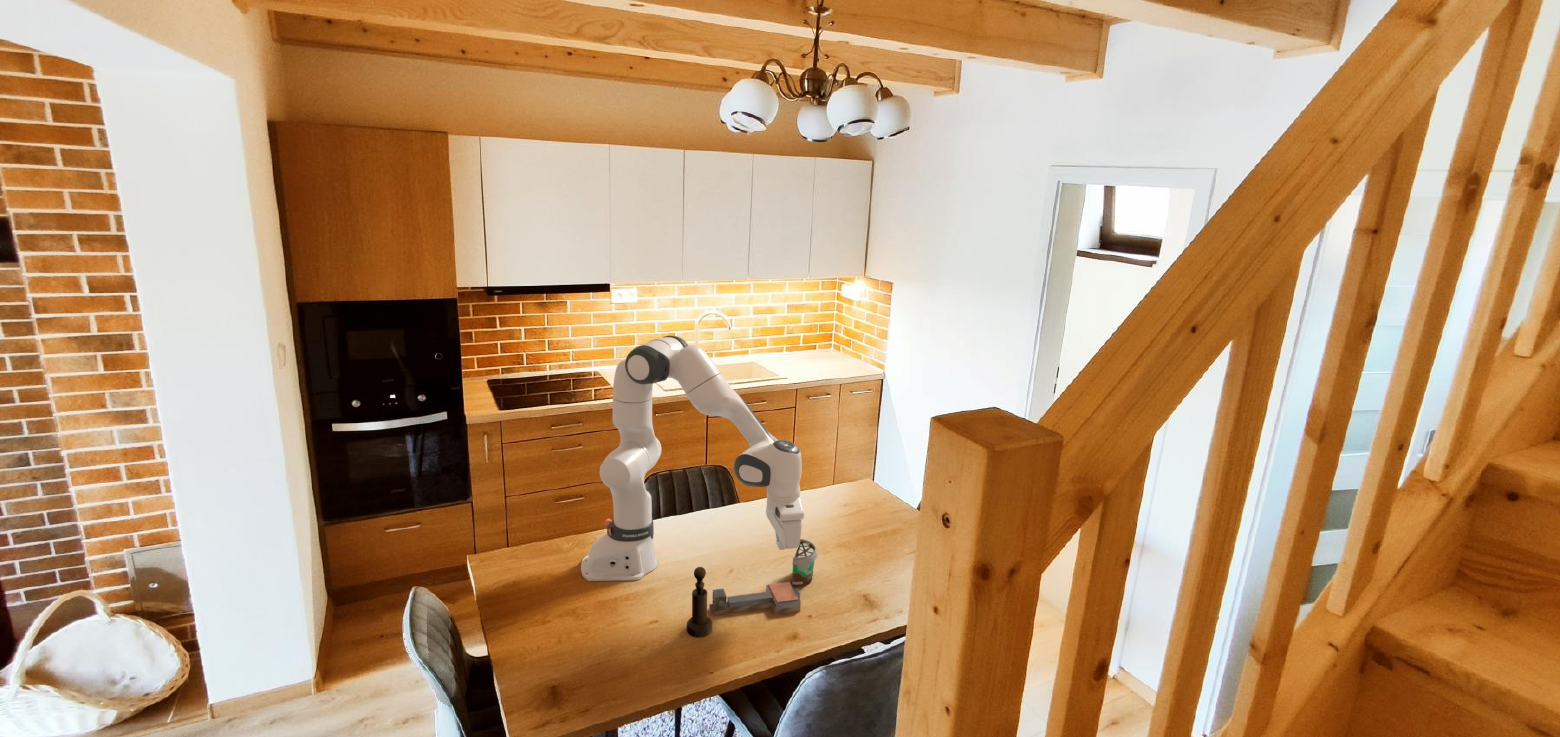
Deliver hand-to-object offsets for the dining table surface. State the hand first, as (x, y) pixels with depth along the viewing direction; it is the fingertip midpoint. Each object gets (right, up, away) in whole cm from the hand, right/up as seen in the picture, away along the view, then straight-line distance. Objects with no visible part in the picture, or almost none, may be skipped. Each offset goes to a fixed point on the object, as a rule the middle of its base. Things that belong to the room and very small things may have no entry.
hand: (780, 547), depth 200 cm
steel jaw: (-5, -15, +3) cm, 16 cm away
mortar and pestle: (-21, -20, -9) cm, 30 cm away
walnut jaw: (-7, -17, +2) cm, 18 cm away
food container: (+7, -14, +17) cm, 23 cm away
